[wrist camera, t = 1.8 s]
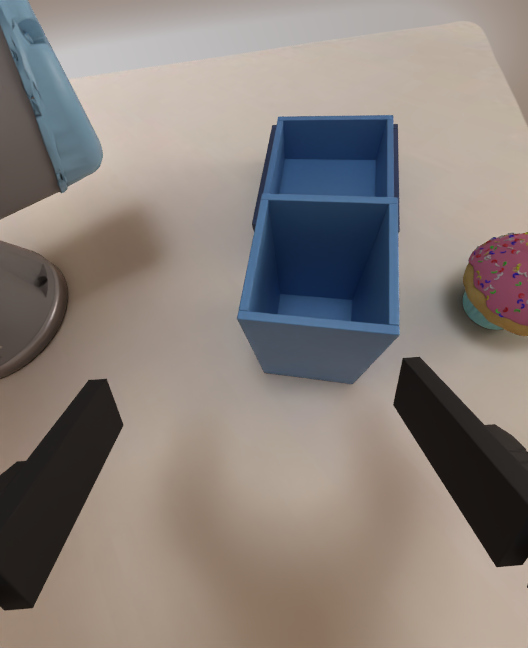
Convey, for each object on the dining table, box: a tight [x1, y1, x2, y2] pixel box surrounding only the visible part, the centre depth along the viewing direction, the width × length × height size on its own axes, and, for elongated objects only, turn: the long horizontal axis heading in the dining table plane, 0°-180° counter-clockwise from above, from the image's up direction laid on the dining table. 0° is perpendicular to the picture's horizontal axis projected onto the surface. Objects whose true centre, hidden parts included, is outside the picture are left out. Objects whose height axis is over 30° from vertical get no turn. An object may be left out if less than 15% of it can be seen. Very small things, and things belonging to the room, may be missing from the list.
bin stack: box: [252, 115, 400, 233], centre depth 31 cm, size 14×14×6 cm
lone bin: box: [237, 194, 400, 384], centre depth 22 cm, size 8×8×13 cm
